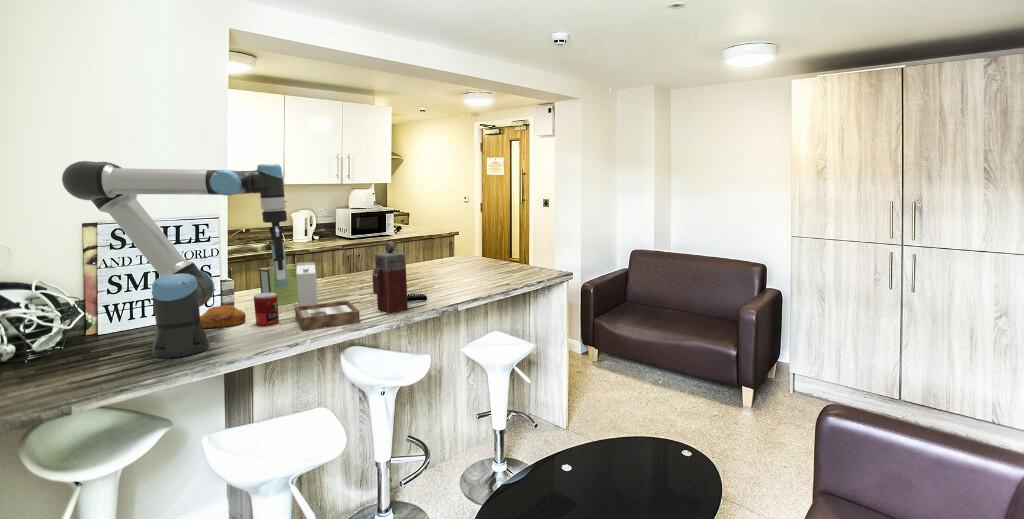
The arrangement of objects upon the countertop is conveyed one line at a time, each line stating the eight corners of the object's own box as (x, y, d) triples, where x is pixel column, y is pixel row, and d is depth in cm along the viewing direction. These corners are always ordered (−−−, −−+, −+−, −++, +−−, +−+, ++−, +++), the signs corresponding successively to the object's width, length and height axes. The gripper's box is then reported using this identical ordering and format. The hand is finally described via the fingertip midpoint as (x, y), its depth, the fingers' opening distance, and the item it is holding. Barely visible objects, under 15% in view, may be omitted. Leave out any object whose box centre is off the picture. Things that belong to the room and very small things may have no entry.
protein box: (306, 300, 234) (304, 265, 231) (271, 307, 222) (268, 270, 220) (295, 297, 240) (293, 263, 238) (261, 303, 229) (258, 268, 227)
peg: (275, 287, 180) (271, 246, 178) (275, 285, 183) (271, 245, 181) (288, 285, 182) (284, 245, 179) (287, 283, 185) (283, 244, 183)
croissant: (242, 332, 193) (243, 311, 192) (193, 330, 188) (194, 309, 187) (249, 321, 206) (250, 301, 205) (204, 319, 201) (205, 299, 200)
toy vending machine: (372, 310, 213) (368, 242, 209) (396, 306, 220) (393, 239, 216) (383, 314, 206) (379, 243, 202) (408, 309, 214) (405, 241, 210)
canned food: (270, 326, 191) (268, 297, 190) (251, 326, 193) (248, 296, 191) (283, 321, 199) (281, 292, 197) (264, 320, 200) (262, 292, 199)
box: (302, 330, 186) (301, 318, 185) (295, 318, 203) (294, 306, 202) (359, 322, 195) (359, 311, 194) (348, 311, 212) (348, 300, 212)
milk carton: (300, 306, 223) (297, 261, 220) (318, 304, 225) (315, 260, 222) (299, 310, 216) (295, 264, 213) (317, 308, 218) (314, 263, 215)
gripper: (288, 210, 173) (294, 280, 176) (284, 208, 188) (290, 273, 191) (262, 212, 169) (270, 283, 173) (261, 210, 184) (268, 275, 188)
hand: (281, 278), depth 182 cm, fingers closed on peg, 4 cm apart
